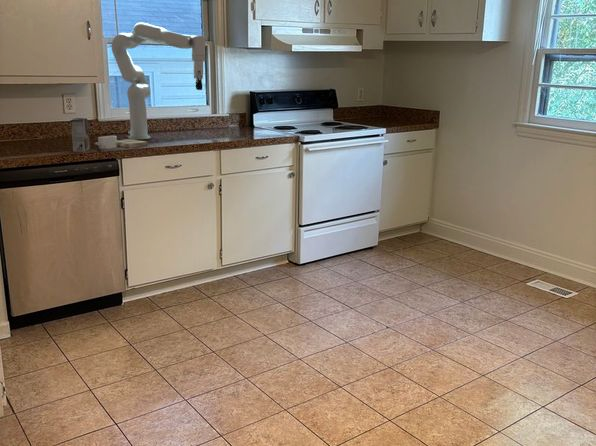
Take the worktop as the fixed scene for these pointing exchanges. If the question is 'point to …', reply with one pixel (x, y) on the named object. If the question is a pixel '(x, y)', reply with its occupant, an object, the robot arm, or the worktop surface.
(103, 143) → the connector
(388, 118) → the worktop surface
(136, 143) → the maple board
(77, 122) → the coffee box
